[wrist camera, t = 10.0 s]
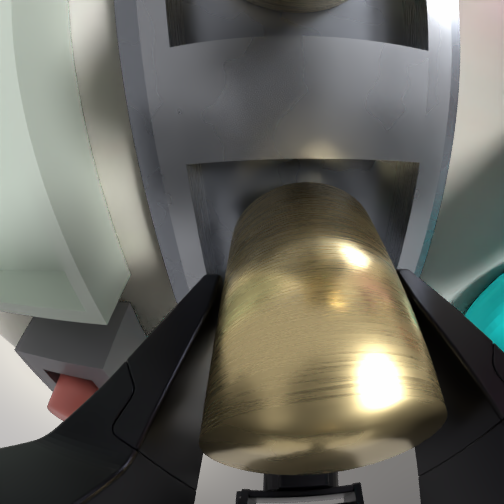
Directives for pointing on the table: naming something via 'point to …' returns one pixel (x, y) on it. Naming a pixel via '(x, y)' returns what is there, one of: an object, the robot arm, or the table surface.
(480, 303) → the donuts
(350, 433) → the billet
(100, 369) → the grey square socket block
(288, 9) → the cylinder
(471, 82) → the table surface
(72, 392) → the button
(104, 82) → the table surface
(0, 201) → the tray
